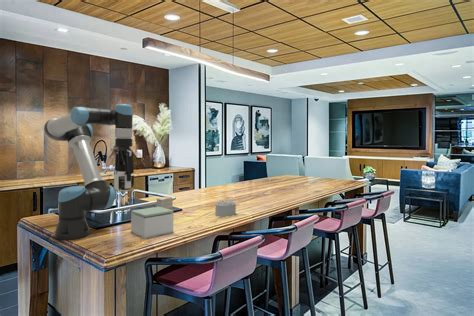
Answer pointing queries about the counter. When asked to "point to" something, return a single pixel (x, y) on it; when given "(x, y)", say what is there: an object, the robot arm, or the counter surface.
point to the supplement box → (165, 202)
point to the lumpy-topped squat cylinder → (225, 208)
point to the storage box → (152, 225)
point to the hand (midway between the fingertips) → (123, 187)
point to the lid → (151, 211)
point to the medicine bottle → (122, 179)
